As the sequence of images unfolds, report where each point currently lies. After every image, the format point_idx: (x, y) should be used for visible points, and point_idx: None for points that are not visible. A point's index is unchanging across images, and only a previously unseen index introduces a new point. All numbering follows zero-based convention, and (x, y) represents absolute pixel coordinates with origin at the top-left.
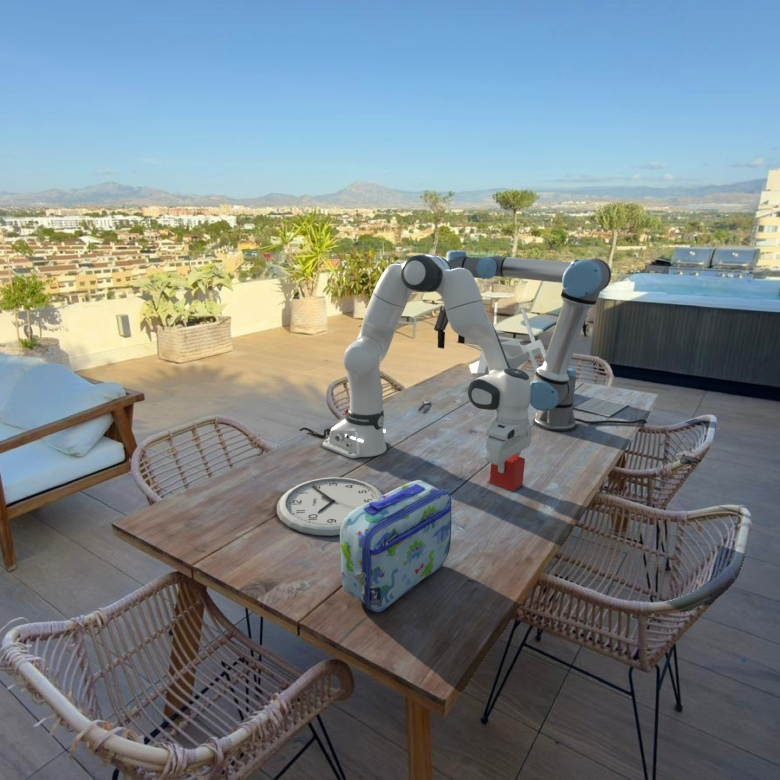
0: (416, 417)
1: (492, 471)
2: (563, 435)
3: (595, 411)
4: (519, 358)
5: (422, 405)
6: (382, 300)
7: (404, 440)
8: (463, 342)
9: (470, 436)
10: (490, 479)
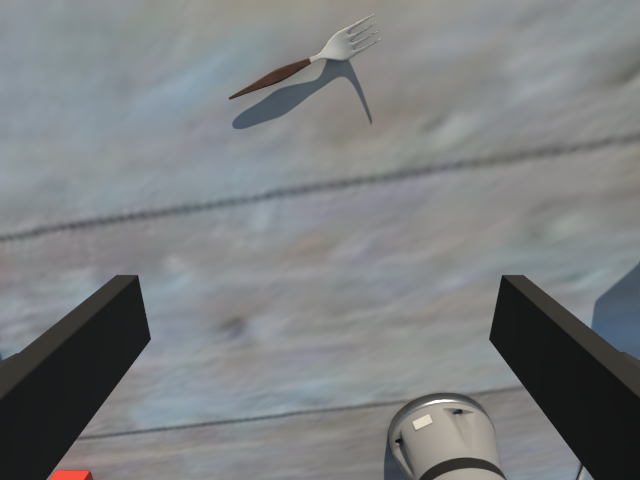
0: (184, 133)
1: None
2: (379, 466)
3: None
4: None
5: (281, 72)
6: None
7: (21, 238)
8: (496, 346)
9: (202, 340)
10: (51, 478)
